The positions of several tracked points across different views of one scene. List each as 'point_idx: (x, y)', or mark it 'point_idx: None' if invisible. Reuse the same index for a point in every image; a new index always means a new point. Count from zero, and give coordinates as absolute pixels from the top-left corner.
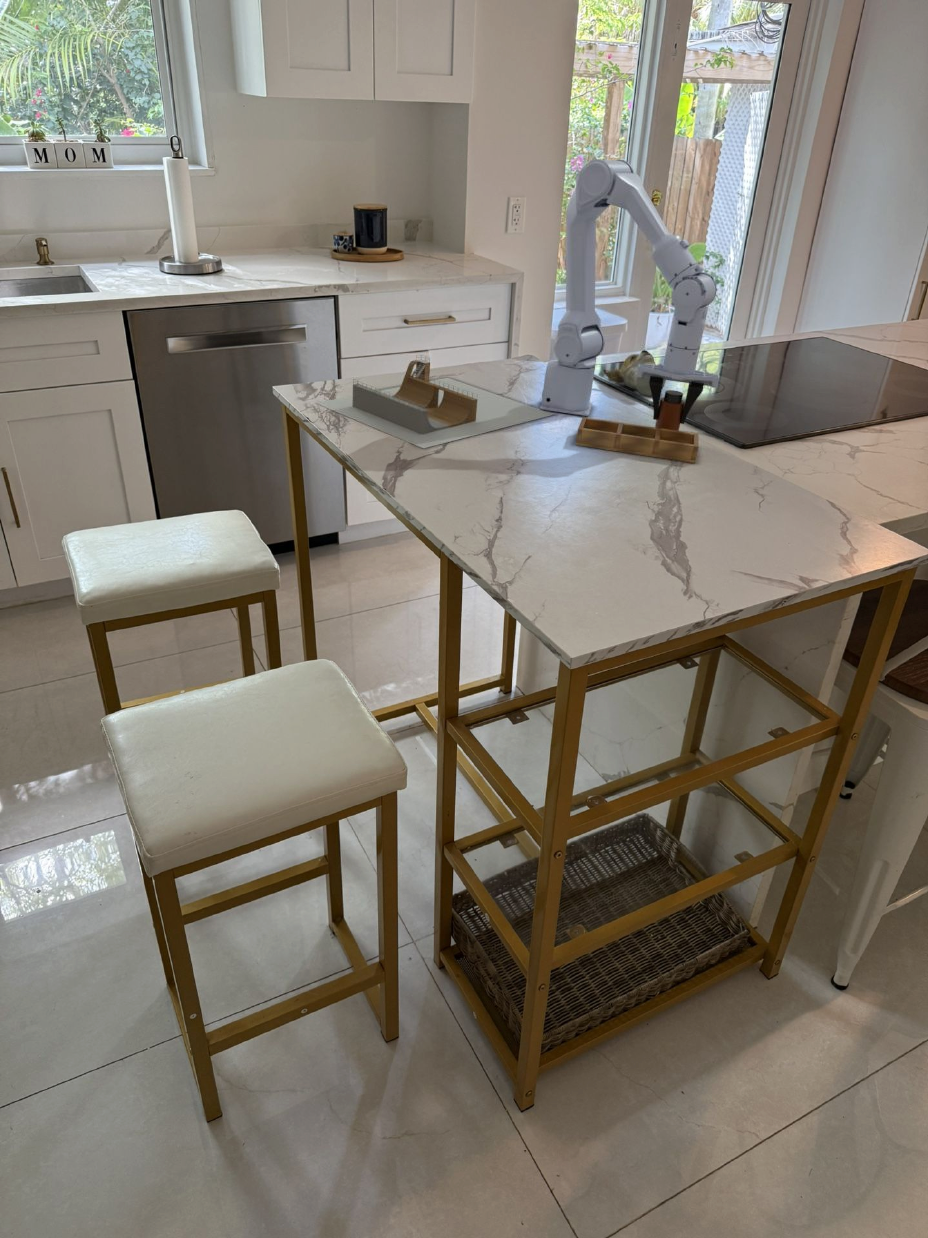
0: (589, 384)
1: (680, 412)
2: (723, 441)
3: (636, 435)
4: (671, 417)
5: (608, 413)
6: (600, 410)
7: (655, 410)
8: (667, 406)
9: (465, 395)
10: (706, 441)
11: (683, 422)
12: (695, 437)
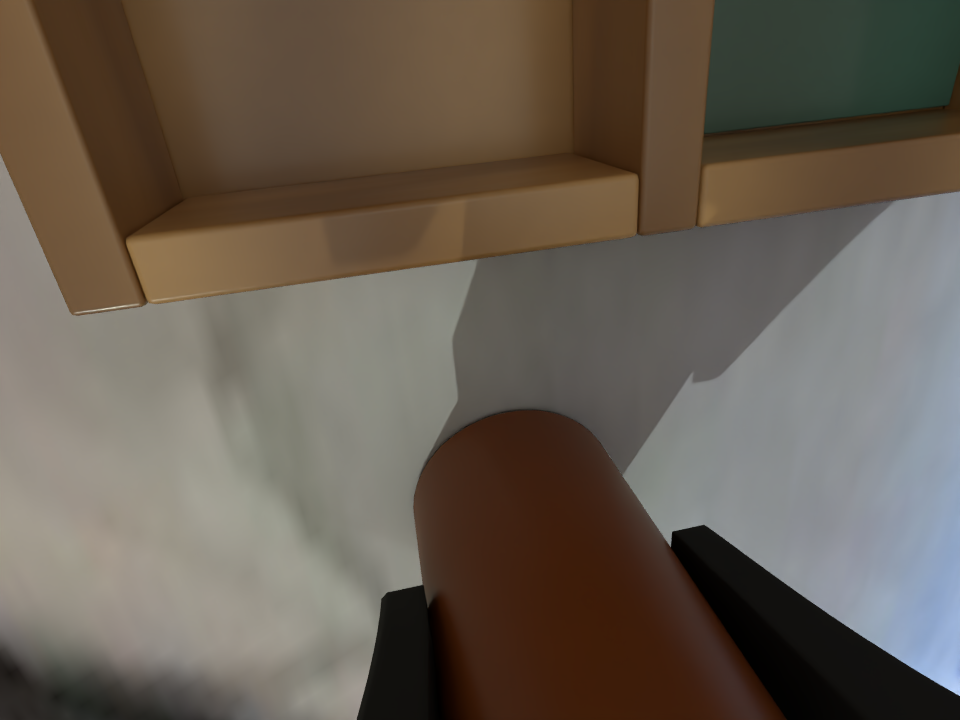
0: None
1: (465, 685)
2: (12, 648)
3: (833, 129)
4: (550, 562)
5: (883, 641)
6: (920, 655)
7: (772, 590)
8: (692, 669)
9: None
10: (147, 560)
11: (389, 601)
12: (22, 58)
